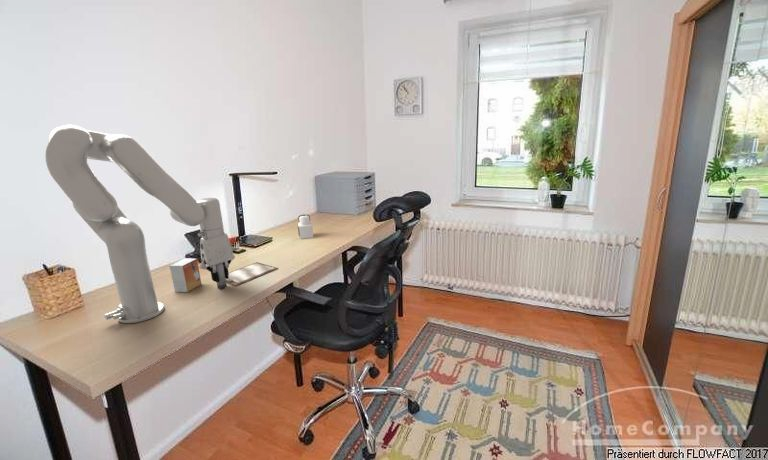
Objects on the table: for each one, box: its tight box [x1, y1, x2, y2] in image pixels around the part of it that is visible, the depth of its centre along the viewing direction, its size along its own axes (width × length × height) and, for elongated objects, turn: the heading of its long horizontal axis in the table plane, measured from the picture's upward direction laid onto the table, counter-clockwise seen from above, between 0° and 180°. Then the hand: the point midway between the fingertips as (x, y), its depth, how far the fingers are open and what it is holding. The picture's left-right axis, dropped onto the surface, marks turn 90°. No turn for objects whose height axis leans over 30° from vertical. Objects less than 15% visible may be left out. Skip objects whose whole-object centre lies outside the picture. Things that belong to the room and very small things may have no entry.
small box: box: [169, 257, 202, 293], centre depth 137 cm, size 8×6×10 cm
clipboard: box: [226, 261, 279, 287], centre depth 149 cm, size 20×14×1 cm
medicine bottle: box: [297, 214, 314, 240], centre depth 195 cm, size 7×7×12 cm
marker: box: [216, 263, 228, 290], centre depth 136 cm, size 3×3×13 cm
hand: (220, 279), depth 136 cm, fingers closed on marker, 3 cm apart
